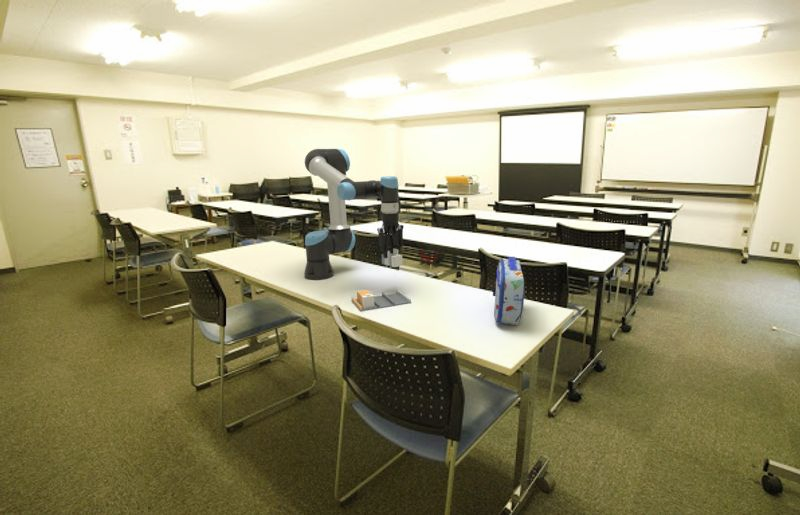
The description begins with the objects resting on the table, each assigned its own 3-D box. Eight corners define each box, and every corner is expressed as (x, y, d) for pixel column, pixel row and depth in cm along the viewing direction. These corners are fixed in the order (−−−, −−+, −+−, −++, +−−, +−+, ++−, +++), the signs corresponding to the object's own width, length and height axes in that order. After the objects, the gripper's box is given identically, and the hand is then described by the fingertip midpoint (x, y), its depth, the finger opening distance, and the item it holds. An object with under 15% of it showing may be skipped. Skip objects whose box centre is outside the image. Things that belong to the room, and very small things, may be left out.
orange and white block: (357, 301, 165) (356, 289, 164) (367, 299, 167) (367, 288, 166) (363, 308, 157) (363, 296, 156) (374, 306, 159) (374, 294, 158)
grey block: (381, 264, 177) (381, 252, 176) (389, 262, 180) (389, 251, 179) (394, 267, 170) (394, 255, 169) (402, 265, 173) (402, 253, 172)
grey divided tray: (351, 301, 167) (351, 297, 166) (399, 293, 175) (399, 290, 175) (360, 311, 155) (360, 307, 155) (411, 302, 164) (411, 299, 163)
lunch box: (492, 302, 163) (494, 251, 158) (517, 303, 161) (520, 252, 156) (494, 329, 137) (497, 270, 132) (524, 331, 135) (528, 271, 130)
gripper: (379, 215, 161) (381, 269, 167) (410, 211, 172) (411, 261, 178) (368, 213, 167) (371, 265, 172) (399, 209, 178) (400, 258, 183)
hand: (391, 263), depth 175 cm, fingers closed on grey block, 4 cm apart
